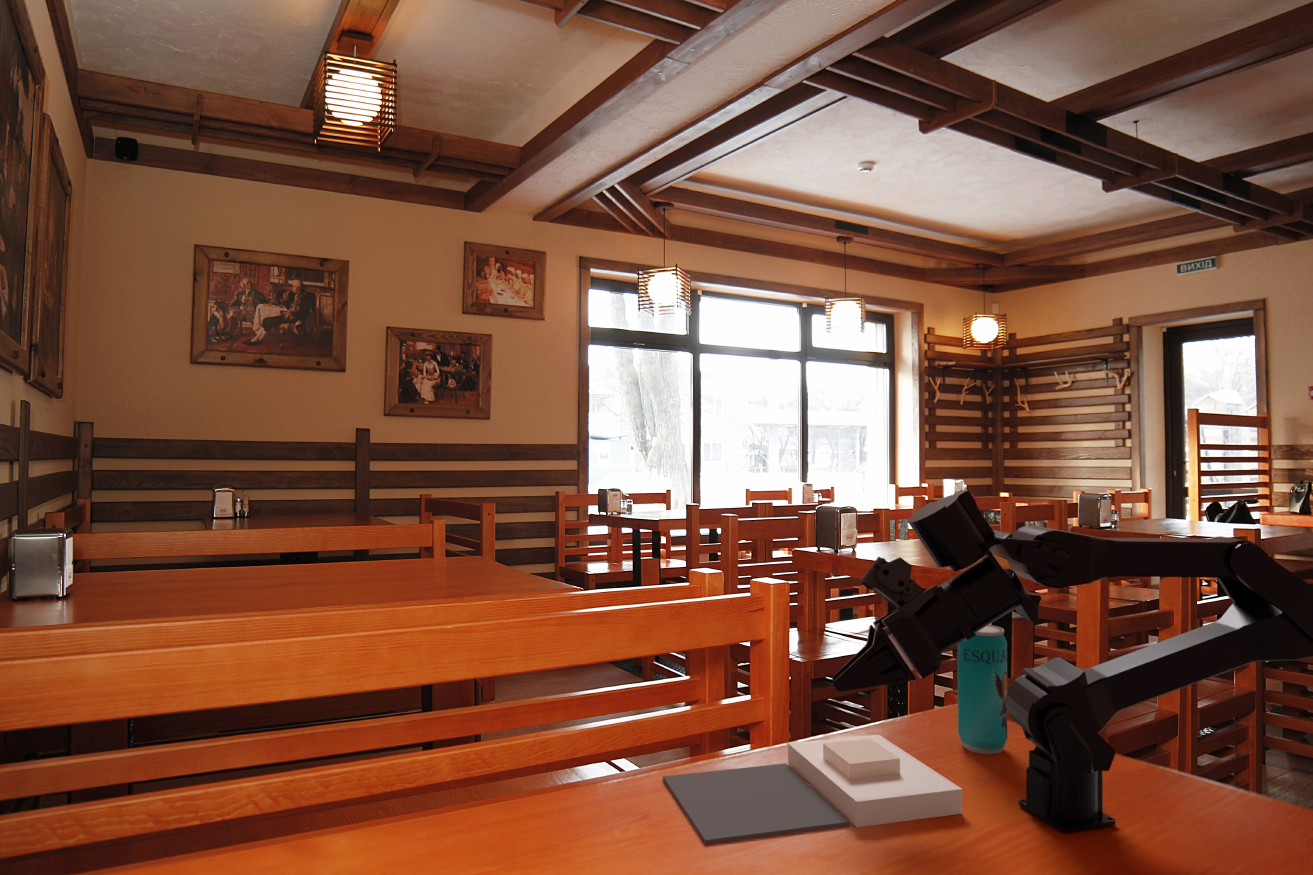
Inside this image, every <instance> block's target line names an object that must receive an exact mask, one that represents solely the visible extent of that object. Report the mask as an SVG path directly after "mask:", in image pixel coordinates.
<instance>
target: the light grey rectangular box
mask: <svg viewBox="0 0 1313 875" xmlns="http://www.w3.org/2000/svg"><path fill="white" fill-rule="evenodd" d="M863 739H872V740H873V741H875V742H876V743H878V744H879V745H881V746H882V747H884V748H885V749H887V750H888V751H890V752H891V753H893V754H894V755H896V756H897V757H899V758H900V774H891V775H883V776H874V777H865V778H856V779H849V778H848V777H846V776H845V775H844V774H843V773H841V772H840V771H839V770H838V769H836V768H835V767H834V766H833V765H832V764H830V763H829V762H828V761H827V760H825V759H824V758H823V743H833V742H843V741H853V740H863ZM787 745H788V746H787V747H788V748H787V765H788V766H789V767H791V768H792V769H793V770H794V771H795V772H796V773H797V774H798V775H799V776H800V777H801V778H803V779H804V780H805V781H806V782H807V783H808V784H809V785H810V786H811V787H812V788H813V789H815V790H816V791H817V792H818V793H819V794H820V795H821V796H822V797H823V798H824V799H825V800H827V801H828V802H829V803H830V804H831V805H832V806H833V807H834V808H835V809H836V810H837V811H839V812H840V813H841V814H842V815H843V816H844V817H845V818H846V819H847V820H848V821H849V822H850V823H851V824H852V825H854V827H856V828H861V827H869V826H870V827H871V826H877V825H885V824H893V823H894V824H895V823H900V822H901V823H902V822H908V821H916V820H925V819H930V818H931V819H932V818H940V817H946V816H947V817H948V816H953V815H961V814H963V788H961V787H960V786H958V785H957V784H955V783H954V782H952V781H950V779H947V778H946V777H944V776H943V775H941V774H940V773H938V772H937V771H935V770H933V769H932V768H930V767H929V766H927V765H926V764H924V763H923V762H921V761H920V760H919V759H916V758H915V757H914V756H913V755H911V754H909V753H908V752H906V751H905V750H903V749H901V747H898V746H897V745H895V744H894V743H892V742H891V741H890V740H888V739H886V738H884V737H883V736H881V735H880V734H871V735H863V736H862V735H861V736H851V737H841V738H830V739H820V740H811V741H810V740H809V741H801V742H798V741H797V742H791V743H790V742H788V743H787Z"/></svg>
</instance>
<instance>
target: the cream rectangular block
mask: <svg viewBox="0 0 1313 875" xmlns="http://www.w3.org/2000/svg"><path fill="white" fill-rule="evenodd" d="M823 758H824V759H825V760H827V761H828V762H829V763H830V764H832V765H833V766H834V767H835V768H836V769H838V770H839V771H840V772H841V773H843V774H844V775H845V776H846V777H848V778H849V779H856V778H865V777H874V776H883V775H891V774H900V758H899V757H897V756H896V755H894V754H893V753H891V752H890V751H888V750H887V749H885V748H884V747H882V746H881V745H879V744H878V743H876V742H875V741H873V740H872V739H863V740H853V741H843V742H833V743H823Z"/></svg>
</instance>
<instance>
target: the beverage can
mask: <svg viewBox="0 0 1313 875" xmlns="http://www.w3.org/2000/svg"><path fill="white" fill-rule="evenodd" d="M1004 633H1005V629H1004V628H1003V627H1001V626H996V625H991V624H989V625H987V626H986V627H984V628H983V629H981V630H979V631H978V632H976V633H975V634H976V635H975V636H974V637H972V638H971V639H969V640H963V641H962V642H960V643H958V644H957V732H958V735H959V738H960V742H961V744H962V746H963V747H964V748H965V749H966V750H967V751H970V752H972V753H976V754H980V755H990V756H991V755H997V754H1000V753H1002V752H1003V750H1004V748H1005V744H1006V743H1007V740H1008V711H1007V707H1006V694H1007V692H1008V641H1007V640H1006V637H1005V634H1004Z"/></svg>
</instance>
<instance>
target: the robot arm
mask: <svg viewBox="0 0 1313 875" xmlns="http://www.w3.org/2000/svg"><path fill="white" fill-rule="evenodd" d="M907 523H908V524H909V526H910V528H912V530H913V532H914V533H915V535H916V537H918V539H919V541H920V543H921V544H922V545H923V547H924V549H925V550H926V551H927V553H928V555H929V556H930V558H931V559H932V561H933V562H934V564H935V565H936V566H937V568H940V569H941V568H948V567H949V569H950V570H951V572H959V571H961V572H960V573H958V574H956V575H954V576H953V577H951V578H950V579H948V580H947V581H945V582H943V583H941V584H940V585H937V584H934V585H933V586H930V587H929V588H927V589H925V588H923V587H922V586H921V585H919V584H918V583H917V582H916V580H914V579H911V574H912V567H913V565H912V564H910V563H909V562H907V561H906V560H905V559H903V557H901V556H900V557H898V558H895V559H893V560H891V561H889V562H888V561H887V559H886V558H884V557H881V556H878V557H877V558H876V559H875V560H874V562H873V563H872V564H871V566H870V567H869V569H868V570H867V571H866V573H865V574H864V575H863V576H862V577H861V579H860V584H861V585H863V586H864V587H865V588H867V589H868V590H869V591H873V592H875V593H876V594H877V595H878V596H880V597H881V598H883V599H884V600H885V601H886V602H888V603H889V604H891V605H892V606H894V609H893V610H892V613H886V614H884V615H882V616H881V617H879V618H877V619H876V620H874V621H873V622H872V624H873V625H872V624H871V625H869V627H868V632H867V634H868V635H867V640H866V643H865V645H864V646H863V647H862V648H861V649H860V650H859V651H858V652H857V653H855V655H853V657H851V658H850V659H849V660H848V661H847V662H846V663H845V664H844V665H843V666H842V667H841V668H840V669H839V670H838V671H837V672H836V673H835V674H834V675H833V676H832V678H831V679H832V681H833V682H832V685H833V687H834V688H835V690H836V691H837V692H838V693H844V692H850V691H856V690H862V689H868V688H873V687H881V686H887V685H894V684H899V683H900V684H901V683H907V682H915V681H917V679H918V678H920V679H922V680H924V679H925V678H927V677H928V676H930V675H932V674H933V673H935V672H936V671H938V670H939V669H941V663H942V656H943V653H946V652H947V651H948V650H950V649H952V648H954V647H955V646H958V643H960V642H962V641H963V640H969V639H971V638H972V637H974V636H975V635H976V634H975V633H976V632H978V631H979V630H981V629H983V628H984V627H986V626H987V625H991V624H992V623H994V622H996V621H997V620H999V619H1000V618H1002V617H1004V616H1006V615H1007V614H1009V613H1010V612H1012V611H1014V610H1015V611H1016V613H1017V614H1018V615H1019V616H1021V617H1022V618H1024V619H1026V620H1028V621H1029V622H1032V623H1037V622H1038V620H1039V614H1040V613H1039V612H1040V611H1039V610H1040V608H1039V607H1040V603H1041V601H1042V596H1041V595H1039V594H1037V593H1035V592H1032V591H1031V592H1030V591H1028V590H1027V588H1026V587H1025V586H1024V584H1023V583H1022V581H1021V580H1020V579H1019V577H1021V578H1023V579H1027V580H1028V581H1031V582H1034V583H1036V584H1039V585H1042V586H1044V587H1045V588H1046V587H1047V588H1053V589H1062V588H1063V589H1064V588H1068V587H1070V588H1071V587H1076V586H1080V585H1088V584H1093V583H1095V582H1098V581H1101V580H1104V579H1108V578H1109V579H1110V578H1115V577H1138V578H1139V577H1146V578H1147V577H1148V578H1155V577H1157V578H1158V577H1159V578H1209V579H1210V578H1211V579H1212V578H1214V579H1215V578H1216V579H1217V581H1218V582H1219V584H1220V586H1221V588H1222V589H1223V591H1224V594H1226V596H1227V597H1228V598H1229V599H1230V600H1231V601H1232V604H1231V605H1230V606H1229V607H1228V609H1227V610H1226V612H1224V614H1223V615H1222V616H1221V617H1220V618H1219V619H1217V620H1215V621H1214V622H1210V623H1207V624H1205V625H1203V626H1199V627H1197V628H1194V629H1192V630H1188V631H1186V632H1184V633H1182V634H1179V635H1175V636H1173V637H1170V638H1168V639H1165V640H1163V641H1162V640H1161V641H1159V642H1156V643H1154V644H1151V645H1148V646H1146V647H1143V648H1141V649H1137V650H1136V651H1135V650H1134V651H1132V652H1130V653H1127V654H1123V655H1121V656H1118V657H1116V658H1112V659H1111V660H1108V661H1107V660H1106V661H1105V662H1103V663H1099V664H1097V665H1094V666H1091V667H1087V668H1078V667H1077V666H1075V665H1074V664H1071V663H1070V662H1068V661H1066V660H1065V659H1063V658H1061V657H1060V656H1059V657H1058V656H1057V657H1055V658H1052V659H1050V660H1048V661H1046V662H1044V663H1043V664H1041V665H1039V666H1036V667H1031V668H1028V667H1027V668H1026V667H1023V668H1021V672H1022V673H1024V674H1022V675H1020V676H1019V677H1016V678H1015V679H1013V680H1012V681H1011V682H1010V683H1009V687H1008V688H1007V694H1006V707H1007V714H1009V716H1010V718H1011V719H1012V720H1013V721H1014V722H1015V723H1016V724H1018V725H1019V726H1020V727H1021V730H1022V731H1023V735H1024V736H1025V737H1024V738H1026V740H1028V741H1030V742H1031V743H1032V744H1034V745H1035V747H1034V749H1032V750H1029V751H1028V766H1027V767H1026V768H1025V776H1026V777H1025V778H1026V779H1025V782H1026V784H1025V785H1026V787H1025V788H1026V789H1025V790H1026V792H1025V793H1026V794H1025V795H1026V797H1025V798H1020V799H1018V800H1017V802H1018V804H1017V805H1019V806H1020V807H1022V808H1023V809H1025V810H1026V811H1028V812H1030V813H1031V814H1032V815H1034V816H1036V817H1038V818H1039V819H1041V820H1042V821H1044V822H1046V823H1047V824H1049V825H1051V827H1054V828H1056V829H1058V830H1059V831H1061V832H1063V833H1065V832H1066V833H1069V832H1076V831H1083V830H1091V829H1098V828H1103V827H1112V826H1116V824H1117V821H1116V818H1114V817H1113V816H1111V815H1109V814H1107V813H1105V812H1104V811H1103V810H1104V806H1103V804H1104V802H1103V801H1104V800H1103V799H1104V798H1103V796H1104V795H1103V794H1104V792H1103V789H1104V788H1103V779H1104V778H1103V772H1109V771H1110V769H1111V767H1112V764H1113V761H1114V759H1115V756H1116V749H1115V748H1113V746H1112V745H1110V744H1109V743H1108V742H1107V741H1106V740H1105V739H1104V738H1103V737H1102V735H1101V734H1099V733H1101V732H1102V731H1103V730H1104V728H1105V727H1106V726H1107V724H1109V723H1110V721H1111V720H1112V719H1113V718H1114V717H1115V715H1116V714H1117V713H1119V712H1121V711H1123V710H1127V709H1128V708H1131V707H1134V706H1137V705H1139V704H1142V703H1145V702H1148V701H1151V700H1153V699H1156V698H1159V697H1162V696H1164V695H1167V694H1170V693H1172V692H1176V691H1178V690H1180V689H1184V688H1186V687H1189V686H1192V685H1194V684H1198V683H1201V682H1203V681H1206V680H1208V679H1211V678H1213V677H1216V676H1220V675H1222V674H1225V673H1228V672H1230V671H1232V670H1235V669H1238V668H1241V667H1243V666H1246V665H1249V664H1253V663H1257V662H1276V661H1277V662H1283V661H1287V662H1288V661H1291V662H1292V661H1293V662H1294V661H1301V660H1302V661H1303V660H1307V659H1313V586H1312V585H1311V584H1309V582H1306V581H1305V580H1303V579H1302V578H1300V577H1299V576H1298V575H1296V574H1294V572H1292V571H1290V570H1288V568H1286V567H1284V566H1283V565H1281V564H1280V563H1278V562H1277V561H1275V559H1274V558H1272V556H1270V555H1269V554H1268V553H1267V552H1266V551H1265V550H1264V549H1263V548H1261V547H1260V546H1259V545H1258V544H1257V543H1256V542H1253V541H1251V540H1245V539H1239V538H1233V537H1227V536H1215V537H1211V538H1180V537H1177V538H1176V537H1175V538H1174V537H1172V538H1171V537H1169V538H1167V537H1164V538H1162V537H1100V536H1094V535H1089V534H1083V533H1077V532H1072V531H1067V530H1062V529H1061V530H1060V529H1056V528H1049V527H1045V526H1040V525H1039V526H1038V525H1034V524H1033V525H1025V526H1022V527H1020V528H1017V529H1016V531H1015V532H1013V533H1012V532H1011V533H1010V532H1009V533H1008V532H1003V531H999V530H995V529H993V528H992V527H991V525H990V524H989V522H988V521H987V519H986V517H985V516H984V515H983V514H982V511H981V510H980V508H979V507H978V504H977V502H976V500H975V497H973V495H972V494H971V492H970V491H969V490H964V489H960V490H958V491H956V492H955V493H953V494H951V495H948V496H945V497H942V498H940V499H939V500H936V501H934V502H928V503H927V504H925V505H923V506H922V507H920V508H919V509H918V510H917V511H915V512H913V514H912V515H911V516H909V518H908V519H907ZM995 555H996V556H998V557H1001V558H1003V559H1005V560H1006V561H1007V563H1008V565H1009V567H1010V568H1003V567H1002V566H1001V564H1000V563H999V561H998V560H997V559H996V557H995ZM962 570H963V571H962ZM1018 576H1019V577H1018ZM914 670H916V671H915V673H916V674H917V676H918V678H917V677H916V676H915V673H914V672H913V671H914Z"/></svg>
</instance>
